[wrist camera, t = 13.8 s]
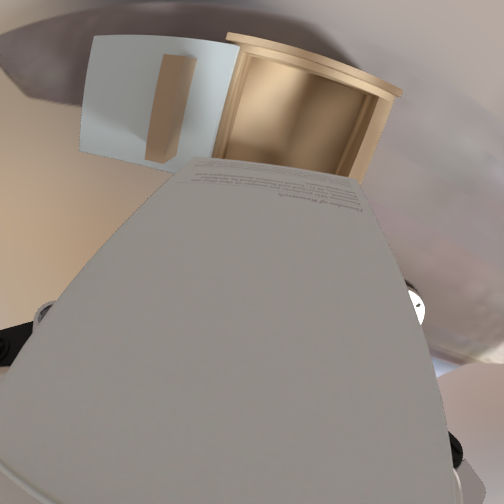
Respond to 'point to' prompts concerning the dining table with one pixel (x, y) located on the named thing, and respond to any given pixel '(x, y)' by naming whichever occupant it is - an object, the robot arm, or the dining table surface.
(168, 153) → the lid
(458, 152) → the dining table surface
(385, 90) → the box
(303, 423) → the supplement box
